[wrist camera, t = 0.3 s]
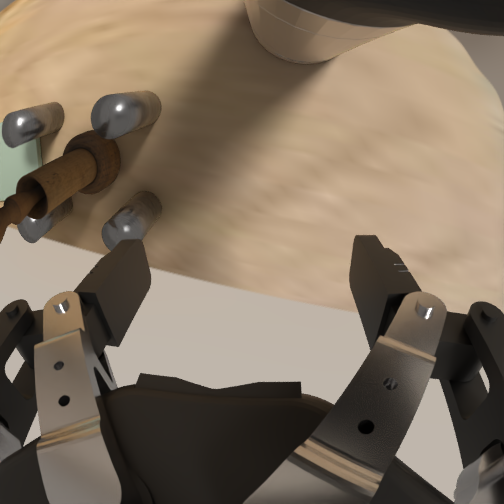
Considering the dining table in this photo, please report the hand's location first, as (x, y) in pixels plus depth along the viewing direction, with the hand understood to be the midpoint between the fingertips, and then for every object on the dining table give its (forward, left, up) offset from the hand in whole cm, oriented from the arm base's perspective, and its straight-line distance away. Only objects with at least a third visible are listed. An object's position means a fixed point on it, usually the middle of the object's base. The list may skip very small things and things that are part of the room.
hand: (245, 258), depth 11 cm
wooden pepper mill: (+1, -18, -19) cm, 26 cm away
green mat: (+1, -32, -19) cm, 37 cm away
